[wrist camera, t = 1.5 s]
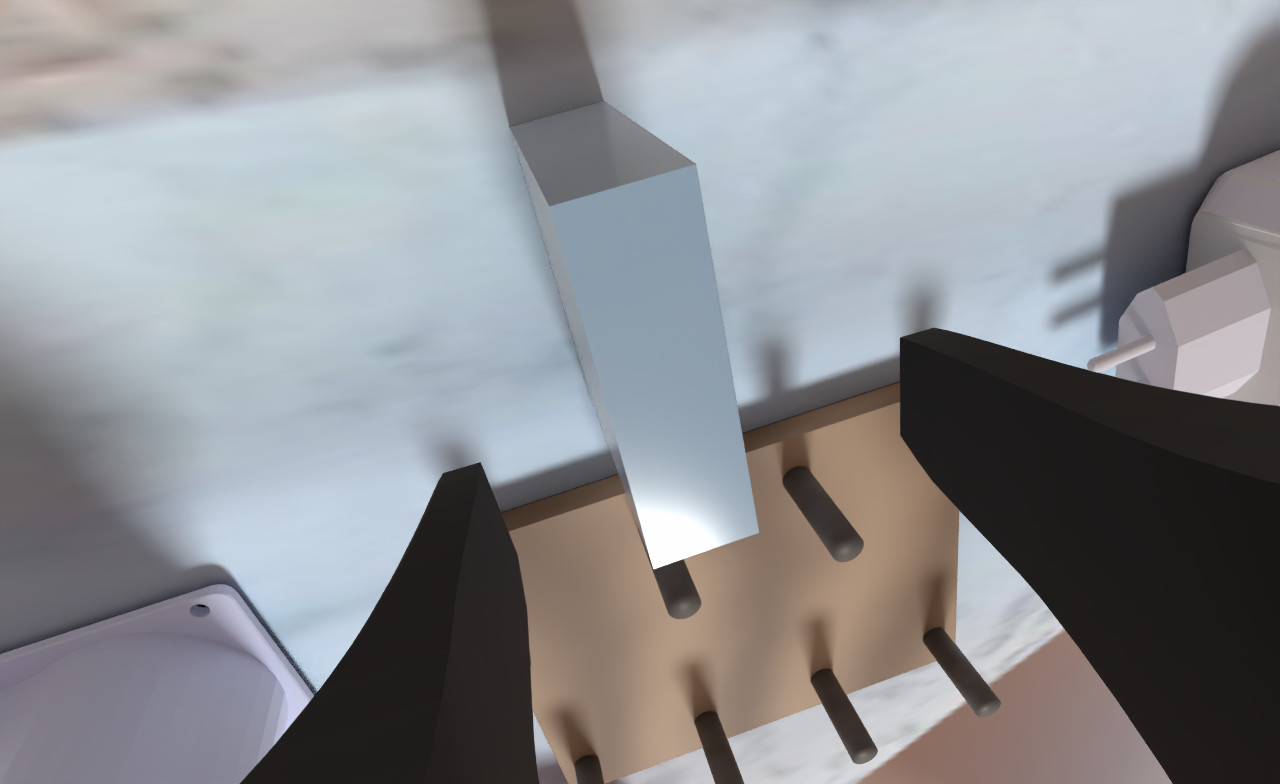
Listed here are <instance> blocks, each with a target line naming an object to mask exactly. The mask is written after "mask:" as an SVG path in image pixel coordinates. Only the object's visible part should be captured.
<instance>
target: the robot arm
mask: <svg viewBox="0 0 1280 784" xmlns="http://www.w3.org/2000/svg"><path fill="white" fill-rule="evenodd" d="M900 436H901V437H902V439H903V440H904V442H905V443H906V445H907V446H908V448H909V449H910V451H911V452H912V454H913V455H914V457H915V458H916V460H917V461H918V462H919V464H920V465H921V466H922V468H923V469H924V471H925V472H926V473H927V475H928V476H929V477H930V479H931V480H932V481H933V482H934V483H935V485H936V486H937V487H938V488H939V489H940V490H941V491H942V492H943V493H944V494H945V496H946V497H947V498H948V499H949V500H950V501H951V502H952V503H953V504H954V505H955V506H956V507H957V508H958V509H959V511H960V512H961V513H962V514H963V515H964V516H965V517H966V518H967V519H968V520H969V521H970V522H971V523H972V524H973V525H974V526H975V527H976V528H977V530H978V531H979V532H980V533H981V534H982V535H983V536H984V537H985V538H986V539H987V540H988V541H989V542H990V543H991V544H992V545H993V546H994V547H995V548H996V550H997V551H998V552H999V553H1000V554H1001V555H1002V556H1003V557H1004V558H1005V559H1006V560H1007V561H1008V562H1009V563H1010V564H1011V565H1012V566H1013V567H1014V568H1015V570H1016V571H1017V572H1018V573H1019V574H1020V575H1021V576H1022V577H1023V578H1024V579H1025V580H1026V582H1027V583H1028V584H1029V585H1030V586H1031V587H1032V588H1033V590H1034V591H1035V592H1036V593H1037V594H1038V595H1039V597H1040V598H1041V599H1042V600H1043V602H1044V603H1045V604H1046V605H1047V607H1048V608H1049V609H1050V611H1051V612H1052V613H1053V615H1054V616H1055V617H1056V618H1057V620H1058V621H1059V622H1060V624H1061V625H1062V626H1063V628H1064V629H1065V630H1066V631H1067V633H1068V634H1069V635H1070V637H1071V638H1072V639H1073V640H1074V642H1075V643H1076V644H1077V646H1078V647H1079V648H1080V650H1081V651H1082V653H1083V654H1084V655H1085V657H1086V658H1087V660H1088V661H1089V662H1090V664H1091V665H1092V666H1093V668H1094V669H1095V671H1096V672H1097V673H1098V675H1099V676H1100V677H1101V679H1102V680H1103V682H1104V683H1105V684H1106V686H1107V687H1108V688H1109V690H1110V691H1111V693H1112V694H1113V695H1114V697H1115V698H1116V699H1117V701H1118V702H1119V704H1120V705H1121V707H1122V708H1123V710H1124V711H1125V713H1126V714H1127V716H1128V717H1129V719H1130V720H1131V722H1132V723H1133V724H1134V726H1135V728H1136V729H1137V731H1138V732H1139V733H1140V735H1141V736H1142V738H1143V739H1144V741H1145V742H1146V744H1147V745H1148V747H1149V748H1150V750H1151V751H1152V753H1153V754H1154V756H1155V757H1156V759H1157V760H1158V761H1159V763H1160V765H1161V766H1162V768H1163V769H1164V770H1165V772H1166V774H1167V775H1168V777H1169V779H1170V780H1171V782H1172V783H1173V784H1280V406H1276V405H1267V404H1259V403H1251V402H1244V401H1237V400H1230V399H1223V398H1217V397H1212V396H1206V395H1200V394H1195V393H1189V392H1184V391H1178V390H1172V389H1167V388H1162V387H1157V386H1152V385H1148V384H1143V383H1138V382H1134V381H1130V380H1126V379H1122V378H1118V377H1113V376H1109V375H1105V374H1101V373H1097V372H1093V371H1089V370H1085V369H1082V368H1078V367H1074V366H1070V365H1067V364H1063V363H1060V362H1056V361H1052V360H1049V359H1045V358H1042V357H1039V356H1035V355H1032V354H1028V353H1025V352H1021V351H1018V350H1015V349H1011V348H1008V347H1005V346H1001V345H998V344H994V343H991V342H988V341H984V340H981V339H977V338H974V337H970V336H967V335H963V334H959V333H955V332H951V331H947V330H942V329H938V328H931V329H928V330H924V331H921V332H918V333H914V334H911V335H907V336H904V337H901V338H900ZM197 604H202V605H206V606H207V607H206V608H202V607H198V606H197ZM0 784H539V780H538V773H537V765H536V755H535V744H534V729H533V709H532V689H531V669H530V649H529V631H528V614H527V605H526V599H525V593H524V587H523V582H522V576H521V571H520V565H519V560H518V554H517V552H516V549H515V547H514V544H513V542H512V539H511V537H510V534H509V532H508V529H507V527H506V524H505V522H504V519H503V517H502V514H501V512H500V509H499V507H498V504H497V502H496V499H495V497H494V494H493V492H492V489H491V487H490V485H489V482H488V480H487V477H486V475H485V472H484V470H483V467H482V465H481V462H480V463H476V464H473V465H470V466H466V467H463V468H459V469H456V470H453V471H449V472H446V473H443V474H442V476H441V478H440V479H439V481H438V483H437V485H436V488H435V490H434V492H433V494H432V497H431V499H430V501H429V503H428V505H427V508H426V510H425V512H424V514H423V516H422V519H421V521H420V523H419V525H418V527H417V529H416V531H415V533H414V536H413V538H412V540H411V542H410V543H409V545H408V547H407V549H406V551H405V553H404V555H403V557H402V559H401V561H400V563H399V565H398V567H397V569H396V571H395V573H394V575H393V577H392V578H391V580H390V582H389V584H388V585H387V587H386V589H385V591H384V592H383V594H382V596H381V598H380V599H379V601H378V603H377V604H376V606H375V608H374V610H373V611H372V613H371V615H370V617H369V618H368V620H367V622H366V623H365V625H364V626H363V628H362V630H361V631H360V633H359V634H358V636H357V637H356V639H355V640H354V642H353V644H352V645H351V647H350V648H349V650H348V651H347V652H346V654H345V655H344V657H343V658H342V659H341V661H340V662H339V664H338V665H337V667H336V668H335V669H334V671H333V672H332V674H331V675H330V676H329V678H328V679H327V680H326V682H325V683H324V684H323V686H322V687H321V688H320V689H319V691H318V692H317V693H316V694H315V696H314V695H313V693H312V692H311V691H310V689H309V688H308V687H307V685H306V684H305V682H304V681H303V680H302V678H301V677H300V676H299V674H298V673H297V672H296V670H295V669H294V668H293V666H292V665H291V664H290V662H289V661H288V660H287V658H286V657H285V656H284V654H283V653H282V651H281V650H280V649H279V647H278V646H277V645H276V643H275V642H274V641H273V639H272V638H271V637H270V635H269V634H268V633H267V631H266V630H265V629H264V627H263V626H262V625H261V623H260V622H259V620H258V619H257V618H256V616H255V615H254V614H253V612H252V611H251V610H250V608H249V607H248V606H247V604H246V603H245V602H244V600H243V599H242V598H241V596H240V595H239V594H238V592H237V591H236V590H235V589H234V588H232V587H230V586H228V585H223V584H216V585H211V586H208V587H205V588H202V589H199V590H195V591H192V592H189V593H186V594H183V595H180V596H177V597H174V598H171V599H168V600H165V601H162V602H159V603H156V604H152V605H149V606H146V607H143V608H140V609H137V610H134V611H131V612H128V613H125V614H122V615H119V616H116V617H113V618H110V619H106V620H103V621H100V622H97V623H94V624H91V625H88V626H85V627H82V628H79V629H76V630H73V631H70V632H67V633H63V634H60V635H57V636H54V637H51V638H48V639H45V640H42V641H39V642H36V643H33V644H30V645H27V646H24V647H20V648H17V649H14V650H11V651H8V652H5V653H2V654H0Z"/></svg>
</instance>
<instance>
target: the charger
mask: <svg viewBox="0 0 1280 784" xmlns="http://www.w3.org/2000/svg"><path fill="white" fill-rule="evenodd" d="M1115 365H1116V376H1117V377H1118V378H1122V379H1126V380H1130V381H1134V382H1138V383H1143V384H1148V385H1152V386H1157V387H1162V388H1167V389H1172V390H1178V391H1184V392H1189V393H1195V394H1200V395H1206V396H1212V397H1217V398H1223V399H1230V400H1237V401H1244V402H1251V403H1259V404H1267V405H1276V406H1280V150H1278V151H1275V152H1273V153H1270V154H1268V155H1265V156H1263V157H1261V158H1258V159H1256V160H1253V161H1251V162H1249V163H1246V164H1244V165H1241V166H1239V167H1237V168H1234V169H1232V170H1229V171H1227V172H1225V173H1224V174H1222V175H1221V176H1220V177H1218V178H1217V180H1216V181H1215V183H1214V184H1213V186H1212V187H1211V189H1210V191H1209V192H1208V194H1207V196H1206V198H1205V199H1204V201H1203V203H1202V205H1201V207H1200V208H1199V210H1198V212H1197V214H1196V215H1195V217H1194V220H1193V222H1192V226H1191V231H1190V240H1189V248H1188V257H1187V266H1186V273H1185V274H1182V275H1180V276H1177V277H1175V278H1173V279H1170V280H1168V281H1165V282H1163V283H1161V284H1158V285H1156V286H1154V287H1151V288H1149V289H1146V290H1144V291H1142V292H1139V293H1137V295H1136V296H1135V298H1134V299H1133V301H1132V302H1131V304H1130V305H1129V306H1128V308H1127V309H1126V311H1125V312H1124V314H1123V315H1122V317H1121V318H1120V319H1119V331H1118V348H1116V349H1114V350H1112V351H1109V352H1107V353H1105V354H1102V355H1100V356H1097V357H1095V358H1093V359H1090V360H1089V362H1088V364H1087V367H1088V369H1089V371H1093V372H1097V373H1099V372H1101V371H1103V370H1106V369H1108V368H1110V367H1113V366H1115Z"/></svg>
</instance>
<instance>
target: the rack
mask: <svg viewBox="0 0 1280 784" xmlns="http://www.w3.org/2000/svg"><path fill="white" fill-rule="evenodd" d="M742 435H743V441H744V447H745V453H746V459H747V465H748V470H749V476H750V482H751V488H752V494H753V500H754V506H755V511H756V517H757V523H758V529H759V533H757V534H754V535H751V536H748V537H745V538H743V539H740V540H737V541H734V542H731V543H728V544H725V545H722V546H719V547H716V548H713V549H711V550H708V551H705V552H702V553H699V554H696V555H693V556H690V557H687V558H684V559H681V560H679V561H676V562H673V563H670V564H667V565H664V566H661V567H658V568H655V569H653V566H652V563H651V561H650V558H649V555H648V552H647V550H646V547H645V544H644V542H643V539H642V536H641V533H640V531H639V528H638V525H637V523H636V520H635V517H634V514H633V512H632V509H631V506H630V504H629V501H628V498H627V495H626V493H625V490H624V487H623V485H622V482H621V479H620V476H619V474H618V475H615V476H612V477H609V478H606V479H603V480H600V481H597V482H594V483H591V484H588V485H585V486H582V487H579V488H576V489H573V490H570V491H567V492H564V493H561V494H558V495H555V496H551V497H548V498H545V499H542V500H539V501H536V502H533V503H530V504H527V505H524V506H521V507H518V508H515V509H512V510H509V511H506V512H503V513H501V514H502V517H503V519H504V522H505V524H506V527H507V529H508V532H509V534H510V537H511V539H512V542H513V544H514V547H515V549H516V552H517V554H518V560H519V565H520V571H521V576H522V582H523V587H524V593H525V599H526V605H527V614H528V631H529V649H530V669H531V689H532V709H533V712H534V714H535V716H536V718H537V721H538V723H539V725H540V727H541V729H542V731H543V733H544V735H545V737H546V739H547V741H548V743H549V745H550V747H551V749H552V751H553V753H554V755H555V757H556V760H557V762H558V764H559V766H560V768H561V770H562V772H563V774H564V776H565V778H566V780H567V782H568V784H606V783H609V782H611V781H614V780H617V779H620V778H622V777H625V776H628V775H630V774H633V773H636V772H638V771H641V770H644V769H647V768H649V767H652V766H655V765H657V764H660V763H663V762H665V761H668V760H671V759H673V758H676V757H679V756H682V755H684V754H687V753H690V752H692V751H695V750H698V749H700V748H703V749H704V752H705V755H706V758H707V761H708V764H709V767H710V770H711V773H712V775H713V778H714V781H715V784H744V782H743V779H742V776H741V774H740V771H739V768H738V766H737V763H736V761H735V758H734V755H733V753H732V750H731V748H730V745H729V742H728V740H727V738H730V737H733V736H735V735H738V734H741V733H744V732H746V731H749V730H752V729H754V728H757V727H760V726H762V725H765V724H768V723H771V722H773V721H776V720H779V719H781V718H784V717H787V716H789V715H792V714H795V713H798V712H800V711H803V710H806V709H808V708H811V707H814V706H816V705H819V704H823V706H824V708H825V710H826V712H827V714H828V716H829V717H830V719H831V721H832V723H833V725H834V727H835V729H836V731H837V732H838V734H839V736H840V738H841V740H842V742H843V744H844V746H845V747H846V749H847V751H848V753H849V755H850V757H851V759H852V761H853V762H854V763H856V764H863V763H866V762H868V761H870V760H872V759H873V758H874V757H875V756H876V754H877V752H878V750H877V748H876V746H875V744H874V742H873V741H872V739H871V737H870V735H869V734H868V732H867V730H866V728H865V727H864V725H863V723H862V721H861V720H860V718H859V716H858V714H857V713H856V711H855V709H854V708H853V706H852V704H851V702H850V701H849V699H848V697H847V695H846V694H849V693H851V692H854V691H857V690H860V689H862V688H865V687H868V686H870V685H873V684H876V683H878V682H881V681H884V680H886V679H889V678H892V677H895V676H897V675H900V674H903V673H905V672H908V671H911V670H913V669H916V668H919V667H922V666H924V665H927V664H930V663H932V662H935V661H937V662H938V663H939V664H940V666H941V667H942V669H943V670H944V671H945V673H946V674H947V675H948V677H949V678H950V679H951V681H952V682H953V683H954V685H955V686H956V688H957V689H958V690H959V692H960V693H961V694H962V696H963V697H964V698H965V700H966V701H967V702H968V704H969V705H970V706H971V708H972V709H973V711H974V712H975V713H976V715H977V716H978V717H987V716H989V715H991V714H993V713H994V712H995V711H997V710H998V708H999V707H1000V704H1001V702H1000V700H999V699H998V698H997V697H996V695H995V694H994V693H993V691H992V690H991V689H990V687H989V686H988V685H987V684H986V682H985V681H984V680H983V679H982V677H981V676H980V675H979V673H978V672H977V671H976V670H975V668H974V667H973V666H972V665H971V663H970V662H969V661H968V659H967V658H966V657H965V656H964V654H963V653H962V652H961V651H960V649H959V648H958V647H957V645H956V644H955V634H956V600H957V567H958V533H959V509H958V508H957V507H956V506H955V505H954V504H953V503H952V502H951V501H950V500H949V499H948V498H947V497H946V496H945V494H944V493H943V492H942V491H941V490H940V489H939V488H938V487H937V486H936V485H935V483H934V482H933V481H932V480H931V479H930V477H929V476H928V475H927V473H926V472H925V471H924V469H923V468H922V466H921V465H920V464H919V462H918V461H917V460H916V458H915V457H914V455H913V454H912V452H911V451H910V449H909V448H908V446H907V445H906V443H905V442H904V440H903V439H902V437H901V436H900V382H898V383H895V384H892V385H889V386H886V387H883V388H880V389H877V390H874V391H871V392H868V393H865V394H862V395H859V396H856V397H853V398H850V399H847V400H843V401H840V402H837V403H834V404H831V405H828V406H825V407H822V408H819V409H816V410H813V411H810V412H807V413H804V414H801V415H798V416H795V417H792V418H789V419H786V420H783V421H780V422H777V423H774V424H770V425H767V426H764V427H761V428H758V429H755V430H752V431H749V432H746V433H743V434H742Z"/></svg>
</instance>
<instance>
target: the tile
mask: <svg viewBox="0 0 1280 784" xmlns="http://www.w3.org/2000/svg"><path fill="white" fill-rule="evenodd" d="M509 128H510V131H511V135H512V138H513V141H514V144H515V148H516V151H517V154H518V158H519V161H520V164H521V168H522V171H523V174H524V178H525V181H526V184H527V188H528V191H529V194H530V198H531V201H532V204H533V208H534V211H535V214H536V218H537V221H538V224H539V228H540V231H541V234H542V238H543V241H544V244H545V248H546V251H547V254H548V258H549V261H550V264H551V268H552V271H553V274H554V278H555V281H556V284H557V288H558V291H559V294H560V298H561V301H562V304H563V308H564V311H565V314H566V318H567V321H568V324H569V328H570V331H571V334H572V338H573V341H574V344H575V348H576V351H577V354H578V358H579V361H580V364H581V367H582V371H583V374H584V377H585V381H586V384H587V387H588V391H589V394H590V397H591V400H592V403H593V406H594V409H595V411H596V414H597V417H598V419H599V422H600V425H601V428H602V430H603V433H604V436H605V438H606V441H607V444H608V447H609V449H610V452H611V455H612V457H613V460H614V463H615V466H616V468H617V471H618V474H619V476H620V479H621V482H622V485H623V487H624V490H625V493H626V495H627V498H628V501H629V504H630V506H631V509H632V512H633V514H634V517H635V520H636V523H637V525H638V528H639V531H640V533H641V536H642V539H643V542H644V544H645V547H646V550H647V552H648V555H649V558H650V561H651V563H652V566H653V569H655V568H658V567H661V566H664V565H667V564H670V563H673V562H676V561H679V560H681V559H684V558H687V557H690V556H693V555H696V554H699V553H702V552H705V551H708V550H711V549H713V548H716V547H719V546H722V545H725V544H728V543H731V542H734V541H737V540H740V539H743V538H745V537H748V536H751V535H754V534H757V533H759V529H758V523H757V517H756V511H755V506H754V500H753V494H752V488H751V482H750V476H749V470H748V465H747V459H746V453H745V447H744V441H743V435H742V430H741V424H740V418H739V412H738V406H737V400H736V395H735V389H734V383H733V377H732V371H731V365H730V360H729V354H728V348H727V342H726V336H725V330H724V325H723V319H722V313H721V307H720V301H719V295H718V290H717V284H716V278H715V272H714V266H713V260H712V255H711V249H710V243H709V237H708V231H707V225H706V219H705V214H704V208H703V202H702V196H701V190H700V184H699V179H698V173H697V167H696V164H695V163H694V162H692V161H691V160H689V159H688V158H686V157H685V156H683V155H682V154H680V153H679V152H678V151H676V150H675V149H673V148H672V147H670V146H669V145H667V144H666V143H664V142H663V141H662V140H660V139H659V138H657V137H656V136H654V135H653V134H651V133H650V132H648V131H647V130H646V129H644V128H643V127H641V126H640V125H638V124H637V123H635V122H634V121H632V120H631V119H629V118H628V117H627V116H625V115H624V114H622V113H621V112H619V111H618V110H616V109H615V108H613V107H612V106H611V105H609V104H608V103H606V102H605V101H602V102H598V103H595V104H591V105H587V106H584V107H580V108H576V109H573V110H569V111H566V112H562V113H558V114H555V115H551V116H548V117H544V118H540V119H537V120H533V121H529V122H526V123H522V124H519V125H515V126H511V127H509Z"/></svg>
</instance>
